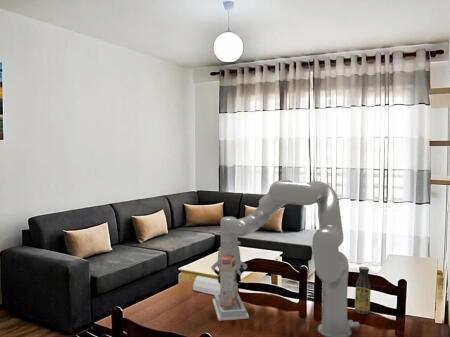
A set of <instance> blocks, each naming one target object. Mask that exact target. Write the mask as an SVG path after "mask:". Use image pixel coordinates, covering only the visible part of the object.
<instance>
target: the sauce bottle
mask: <svg viewBox="0 0 450 337" xmlns="http://www.w3.org/2000/svg"><path fill="white" fill-rule="evenodd" d="M369 272H370V268H369V267H367V266H359V267H358V275H359V276H358V278H357V279H356V280H355V282H356V283H355V292H354V293H355V296H354V311H355V312H356V313H357V314H360V315H368V314H369V313H370V309H371V293H372V292H371V291H372V290H371V281H370V279H369Z"/></svg>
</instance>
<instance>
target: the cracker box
mask: <svg viewBox="0 0 450 337" xmlns="http://www.w3.org/2000/svg"><path fill="white" fill-rule="evenodd" d="M237 273H238V272H237V270H235V257H234V256H226V257H222V258H221V259H220V306H233V304H234V302H235V300H236V298H237V296H238V295H239V293H238V288H239V286H238V285H239V284H238V283H237Z"/></svg>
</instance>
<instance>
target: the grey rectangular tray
mask: <svg viewBox="0 0 450 337" xmlns="http://www.w3.org/2000/svg"><path fill="white" fill-rule="evenodd" d="M212 304H213V307H214V311H215V313H216V316H217V320H218V321H220V322H221V321H232V320H244V319H245V320H247V319H250V317H249V316H250V315H249V313H248V311H247V309H246V306H245V305H244V303H243V301H242V298H241V297H240V295H239V294H238V296H237V298H236V300H235V302H234V304H233V306H220V293H219V294H215V295H214V298H212Z"/></svg>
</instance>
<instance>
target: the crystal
mask: <svg viewBox="0 0 450 337" xmlns="http://www.w3.org/2000/svg"><path fill="white" fill-rule="evenodd" d="M192 287H193V288H192V289H193V291H195V292H201V293H204V294H208V295H213V296H215V294H219V293H220V283H218V279H216V278H210V277H206V276H201V275H197V276H195V278H194V280H193V284H192Z"/></svg>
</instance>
